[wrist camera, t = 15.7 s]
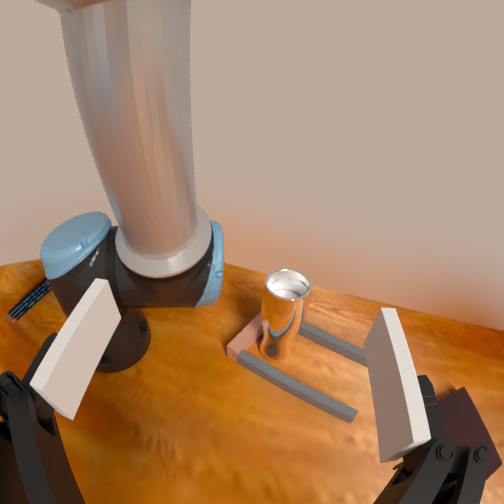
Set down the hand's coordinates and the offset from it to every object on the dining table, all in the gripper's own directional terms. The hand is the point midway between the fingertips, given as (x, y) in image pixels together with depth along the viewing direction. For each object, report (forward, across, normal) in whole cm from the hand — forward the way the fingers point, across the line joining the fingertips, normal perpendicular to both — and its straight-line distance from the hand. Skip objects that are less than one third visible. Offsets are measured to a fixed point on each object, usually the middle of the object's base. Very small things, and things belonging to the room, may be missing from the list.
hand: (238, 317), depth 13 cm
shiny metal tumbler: (+21, +4, -30) cm, 37 cm away
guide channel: (+18, +9, -30) cm, 36 cm away
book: (-1, +36, -31) cm, 47 cm away
